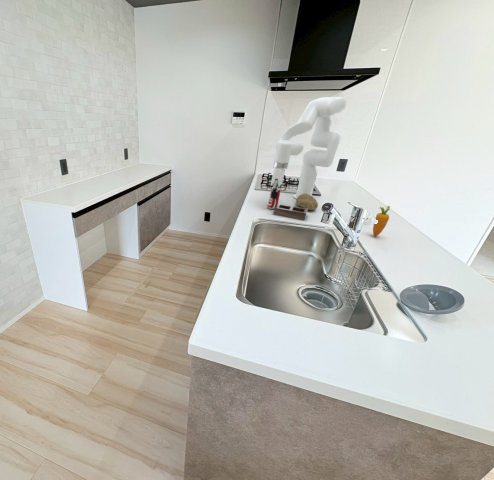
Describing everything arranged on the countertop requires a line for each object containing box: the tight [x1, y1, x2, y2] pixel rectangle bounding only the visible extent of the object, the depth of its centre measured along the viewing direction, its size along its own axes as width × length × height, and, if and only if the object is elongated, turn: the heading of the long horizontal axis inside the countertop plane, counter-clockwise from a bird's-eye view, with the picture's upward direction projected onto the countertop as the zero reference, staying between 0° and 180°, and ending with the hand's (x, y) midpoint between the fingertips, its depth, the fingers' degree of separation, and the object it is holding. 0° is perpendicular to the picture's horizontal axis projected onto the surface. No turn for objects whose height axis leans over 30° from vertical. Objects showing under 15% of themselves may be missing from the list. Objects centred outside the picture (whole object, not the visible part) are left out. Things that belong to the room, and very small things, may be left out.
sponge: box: [295, 194, 319, 211], centre depth 157 cm, size 13×8×20 cm
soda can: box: [267, 186, 281, 210], centre depth 152 cm, size 5×5×12 cm
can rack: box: [273, 203, 309, 221], centre depth 144 cm, size 9×16×4 cm, turn 59°
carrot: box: [372, 205, 391, 237], centre depth 118 cm, size 5×5×15 cm
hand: (274, 196), depth 152 cm, fingers closed on soda can, 5 cm apart
